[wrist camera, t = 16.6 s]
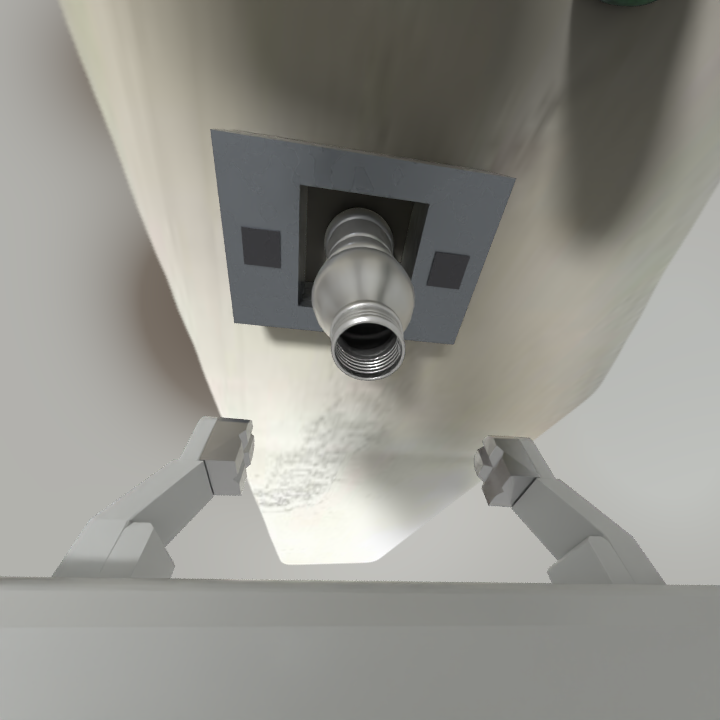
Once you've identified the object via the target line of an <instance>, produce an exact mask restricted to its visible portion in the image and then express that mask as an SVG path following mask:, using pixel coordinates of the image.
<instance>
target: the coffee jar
mask: <svg viewBox="0 0 720 720" xmlns="http://www.w3.org/2000/svg"><path fill="white" fill-rule="evenodd" d="M600 1H602V2H605V3H608V4H613V5H619V6H640V5H645V4H649V3H652V2H654V1H657V0H600Z"/></svg>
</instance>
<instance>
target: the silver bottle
mask: <svg viewBox="0 0 720 720" xmlns="http://www.w3.org/2000/svg"><path fill="white" fill-rule="evenodd" d="M324 246H325V253H326V257H327V260H326V262H325V263H324V264H323V266H322V267H321V269H320V270H319V272H318V274H317V276H316V279H315V281H314V284H313V288H312V297H311V301H312V306H313V310H314V313H315V316H316V318H317V321H318V323H319V325H320V326H321V328H322V329H323V331H324V332H325V333H326V334H327V335H328V336H329V337H330V339H331V351H332V357H333V359H334V362H335V364H336V365H337V367H338V368H339V369H340V370H341V371H342V372H344V373H345V374H346V375H348V376H350V377H352V378H355V379H359V380H366V381H371V380H378V379H382V378H385V377H387V376H389V375H391V374H392V373H393V372H395V371H396V370H397V369H398V368H399V367H400V365H401V364H402V362H403V360H404V356H405V342H404V338H403V337H404V331H405V330H406V328H407V327H408V325H409V323H410V321H411V317H412V313H413V309H414V304H415V294H414V288H413V285H412V283H411V280H410V278H409V276H408V275H407V273H406V271H405V270H404V268H403V267H402V265H401V264H400V263H399V262H398V261H397V260H396V259H395V258H394V257H393V254H394V240H393V234H392V232H391V229H390V227H389V226H388V224H387V223H386V221H385V220H384V219H383V218H382V217H381V216H380V215H378V214H377V213H375V212H373V211H371V210H368V209H364V208H352V209H348V210H345V211H343V212H341V213H339V214H338V215H337V216H336V217H335V218H334V219H333V220H332V221H331V222H330V224H329V226H328V228H327V230H326V234H325V240H324Z"/></svg>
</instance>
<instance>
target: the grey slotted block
mask: <svg viewBox="0 0 720 720" xmlns="http://www.w3.org/2000/svg"><path fill="white" fill-rule="evenodd" d="M210 130H211V138H212V146H213V154H214V162H215V171H216V179H217V187H218V195H219V203H220V211H221V219H222V227H223V235H224V244H225V252H226V260H227V268H228V276H229V284H230V292H231V300H232V308H233V317H234V323H240V324H251V325H261V326H271V327H281V328H291V329H301V330H311V331H322V332H324V331H323V329H322V328H321V326H320V325H319V323H318V321H317V318H316V316H315V313H314V310H313V306H312V301H311V297H312V288H313V284H314V282H306V281H305V266H306V232H307V198H308V186H313V187H319V188H326V189H333V190H340V191H346V192H353V193H360V194H367V195H374V196H380V197H387V198H394V199H401V200H408V201H414V204H413V208H412V213H411V218H410V222H409V227H408V232H407V236H406V241H405V245H404V250H403V255H402V259H401V265H402V267H403V268H404V270H405V271H406V273H407V275H408V276H409V278H410V280H411V283H412V285H413V288H414V294H415V304H414V309H413V313H412V317H411V321H410V323H409V325H408V327H407V328H406V330H405V331H404V337H403V338H404V340H413V341H423V342H433V343H443V344H454V342H455V339H456V336H457V334H458V331H459V328H460V326H461V323H462V321H463V318H464V315H465V313H466V310H467V307H468V305H469V302H470V299H471V297H472V294H473V291H474V289H475V286H476V283H477V281H478V278H479V275H480V273H481V270H482V267H483V265H484V262H485V259H486V257H487V254H488V252H489V249H490V246H491V244H492V241H493V238H494V236H495V233H496V230H497V228H498V225H499V222H500V220H501V217H502V214H503V212H504V209H505V206H506V204H507V201H508V198H509V196H510V193H511V191H512V188H513V185H514V183H515V180H516V178H512V177H508V176H504V175H501V174H497V173H493V172H489V171H484V170H478V169H472V168H466V167H460V166H453V165H447V164H441V163H435V162H429V161H423V160H416V159H410V158H404V157H398V156H392V155H386V154H380V153H373V152H367V151H361V150H355V149H349V148H343V147H336V146H330V145H324V144H318V143H312V142H306V141H299V140H293V139H287V138H281V137H275V136H269V135H262V134H256V133H250V132H244V131H238V130H217V129H210Z"/></svg>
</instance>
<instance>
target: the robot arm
mask: <svg viewBox="0 0 720 720" xmlns="http://www.w3.org/2000/svg"><path fill="white" fill-rule="evenodd" d="M252 429H253V424H252V420H244V419H233V418H222V417H208V416H203V417H202V418H201V419H200V420H199V421H198V424H197V425H196V427H195V429H194V431H193V433H192V435H191V437H190V439H189V441H188V443H187V445H186V447H185V448H184V450H183V453H182V454H181V456H180V458H179V459H174V460H172V461H171V462H169V463H168V464H166V465H165V466H164V467H162V468H161V469H159V470H158V471H157V472H155V473H154V474H152V475H151V476H150V477H148V478H147V479H145V480H144V481H143V482H141V483H140V484H138V485H137V486H136V487H134V488H133V489H131V490H130V491H129V492H127V493H126V494H125V495H123V496H122V497H120V498H119V499H118V500H116V501H115V502H113V503H112V504H111V505H109V506H108V507H107V508H105V509H104V510H102V511H101V512H99V513H98V514H97V515H95V516H94V517H92V518H91V519H90V520H89V522H88V523H87V524H86V526H85V527H84V529H83V530H82V532H81V533H80V535H79V536H78V538H77V539H76V541H75V542H74V544H73V545H72V547H71V548H70V550H69V551H68V553H67V554H66V556H65V557H64V559H63V560H62V562H61V563H60V565H59V567H58V568H57V569H56V571H55V572H54V574H53V575H52V577H7V576H5V577H4V576H0V720H720V585H666V584H665V582H664V581H663V579H662V578H661V576H660V575H659V573H658V572H657V571H656V569H655V568H654V566H653V565H652V563H651V562H650V561H649V559H648V558H647V556H646V555H645V553H644V552H643V551H642V549H641V548H640V546H639V545H638V543H637V542H636V541H635V539H634V538H633V536H631V535H630V534H629V533H628V532H626V531H625V530H624V529H622V528H621V527H620V526H619V525H617V524H616V523H615V522H613V521H612V520H611V519H610V518H608V517H607V516H606V515H605V514H603V513H602V512H601V511H600V510H598V509H597V508H596V507H594V506H593V505H592V504H591V503H589V502H588V501H587V500H586V499H584V498H583V497H582V496H581V495H579V494H578V493H577V492H576V491H574V490H573V489H572V488H570V487H569V486H568V485H567V484H565V483H564V482H563V481H561V480H560V479H556V478H555V477H554V475H553V474H552V472H551V470H550V469H549V467H548V465H547V464H546V462H545V460H544V459H543V457H542V455H541V454H540V452H539V450H538V449H537V447H536V445H535V444H534V442H533V441H532V440H531V439H530V438H523V437H511V436H492V435H488V436H486V437H485V438H484V440H483V441H482V442H483V445H484V446H483V447H481V448H480V449H478V450H477V452H476V454H475V456H474V467H475V471H476V474H477V476H478V477H479V478H480V479H481V480H482V481H483V485H482V490H483V492H484V495H485V498H486V500H487V503H488V505H489V506H502V507H512V510H513V511H514V512H515V513H516V514H517V515H518V516H519V517H520V519H521V520H522V521H523V522H524V523H525V524H526V525H527V527H528V528H529V529H530V530H531V531H532V532H533V533H534V534H535V536H537V538H538V539H539V540H540V541H541V542H542V543H543V545H544V546H545V547H546V548H547V549H548V550H549V551H550V552H551V554H552V555H553V556H554V557H555V558H556V559H557V560H558V561H557V562H556V563H554V564H553V565H552V566H550V567H549V569H548V571H547V573H548V575H549V578H550V580H551V582H552V583H490V582H489V583H488V582H412V581H411V582H410V581H409V582H408V581H334V580H333V581H332V580H324V581H323V580H253V579H252V580H251V579H250V580H249V579H248V580H247V579H246V580H245V579H172V578H171V575H172V573H173V570H174V568H175V565H174V562H173V561H172V559H171V557H170V555H169V554H168V552H167V550H166V548H165V547H166V546H167V544H169V542H170V541H171V540H172V539H173V538H174V537H175V536H176V535H177V534H178V533H179V532H180V531H181V530H182V529H183V528H184V527H185V526H186V525H187V524H188V523H189V521H191V520H192V518H193V517H194V516H195V515H196V514H197V513H198V512H199V511H200V510H201V509H202V508H203V507H204V506H205V505H206V504H207V503H208V502H209V501H210V500H211V499H212V498H213V495H242V491H243V487H244V484H245V481H246V478H247V473H246V468H247V467H248V466H249V465H250V464H251V461H252V457H253V451H254V436H253V435H252V434H251V432H252Z"/></svg>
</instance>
